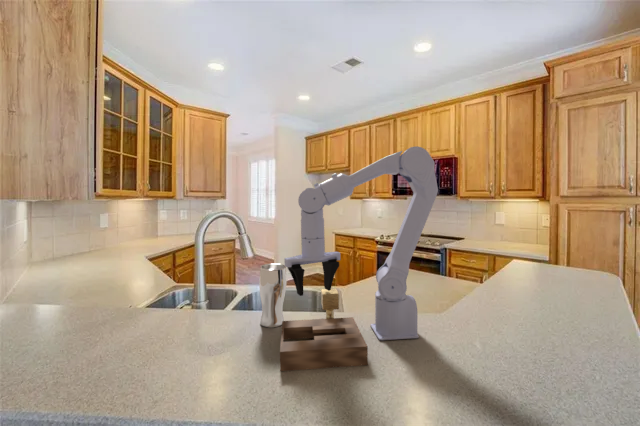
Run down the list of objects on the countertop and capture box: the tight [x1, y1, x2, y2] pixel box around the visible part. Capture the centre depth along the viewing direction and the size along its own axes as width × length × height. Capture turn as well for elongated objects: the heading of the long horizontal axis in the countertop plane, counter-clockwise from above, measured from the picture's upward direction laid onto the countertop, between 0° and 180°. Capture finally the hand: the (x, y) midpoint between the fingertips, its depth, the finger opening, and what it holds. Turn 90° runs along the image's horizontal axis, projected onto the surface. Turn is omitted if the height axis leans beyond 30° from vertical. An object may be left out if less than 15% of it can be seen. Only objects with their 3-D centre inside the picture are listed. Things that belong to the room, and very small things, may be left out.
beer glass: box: [258, 263, 287, 329], centre depth 78 cm, size 7×7×15 cm
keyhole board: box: [279, 316, 369, 372], centre depth 64 cm, size 17×14×4 cm
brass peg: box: [320, 288, 340, 319], centre depth 77 cm, size 4×4×9 cm
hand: (314, 291), depth 74 cm, fingers open, 7 cm apart
